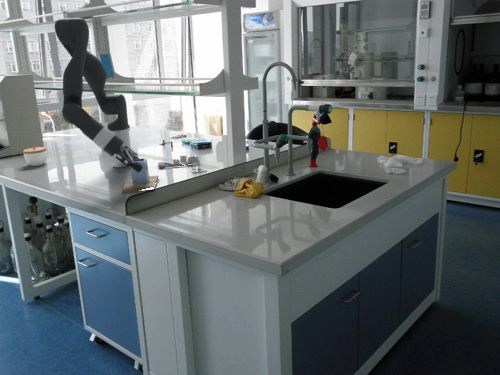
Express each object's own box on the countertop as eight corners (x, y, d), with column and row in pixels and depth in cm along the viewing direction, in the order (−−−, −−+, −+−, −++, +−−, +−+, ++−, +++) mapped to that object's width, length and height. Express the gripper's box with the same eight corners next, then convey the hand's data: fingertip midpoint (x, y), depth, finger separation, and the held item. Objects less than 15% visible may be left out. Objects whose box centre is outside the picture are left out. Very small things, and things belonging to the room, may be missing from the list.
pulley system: (175, 162, 222) (152, 168, 210) (174, 152, 221) (152, 158, 208) (221, 169, 207) (199, 176, 195) (220, 159, 206) (199, 165, 194)
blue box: (135, 180, 185) (132, 159, 182) (149, 179, 185) (146, 157, 183) (133, 184, 180) (129, 162, 177) (147, 183, 180) (144, 161, 177)
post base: (129, 181, 190) (126, 160, 188) (158, 179, 191) (156, 158, 188) (122, 193, 175) (119, 170, 173) (154, 190, 176) (151, 168, 173)
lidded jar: (52, 161, 237) (49, 143, 234) (43, 166, 227) (39, 147, 224) (32, 162, 238) (28, 144, 235) (21, 167, 227) (17, 149, 225)
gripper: (110, 137, 170) (145, 165, 174) (118, 131, 183) (150, 156, 187) (98, 152, 171) (133, 180, 175) (106, 145, 184) (139, 170, 188)
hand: (142, 168), depth 181 cm, fingers open, 8 cm apart
